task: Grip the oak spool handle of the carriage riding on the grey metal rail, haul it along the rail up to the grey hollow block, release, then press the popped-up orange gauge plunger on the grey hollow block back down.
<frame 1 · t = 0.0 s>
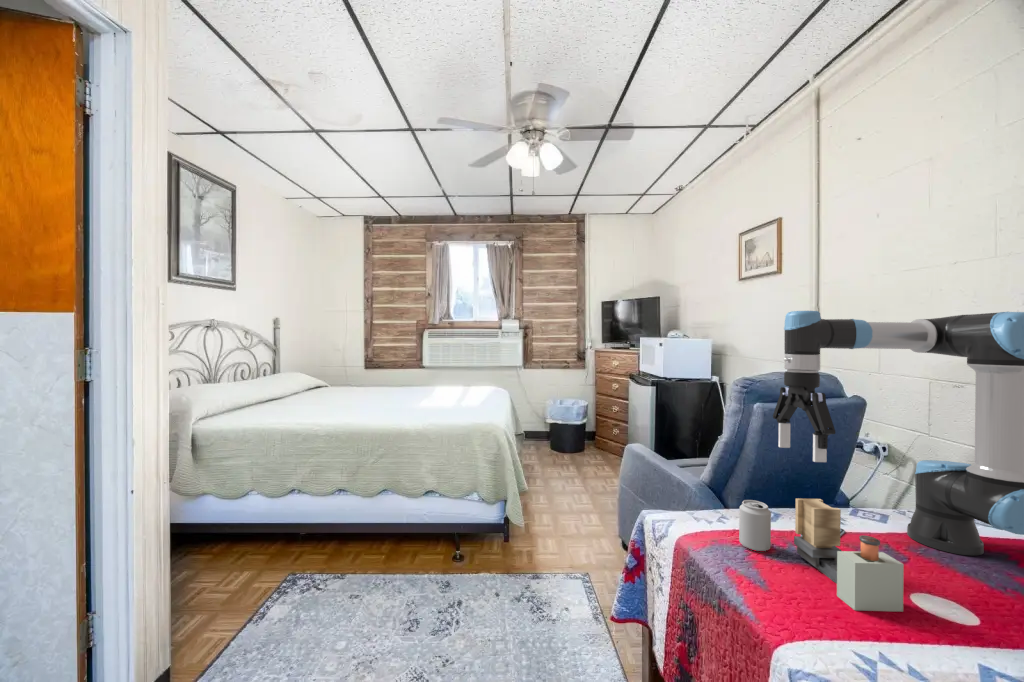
hand: (800, 454, 106), 28 cm above the table, fingers open, 13 cm apart
smartphone: (822, 535, 123), on the table
gauge plunger: (869, 548, 90), point 12 cm above the table, slide at 0.0 cm
carriage: (817, 532, 106), point 8 cm above the table, slide at -5.0 cm
rail: (831, 575, 101), on the table
can: (754, 547, 115), on the table
grey hollow block: (869, 603, 90), on the table
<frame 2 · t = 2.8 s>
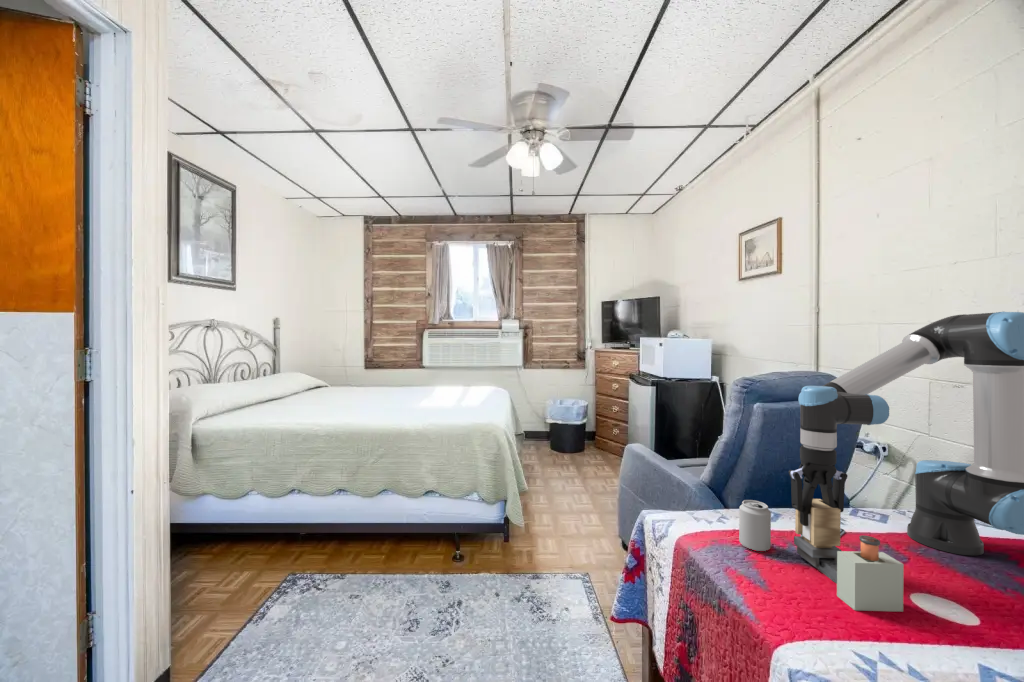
hand: (817, 538, 106), 7 cm above the table, fingers closed on carriage, 4 cm apart
carriage: (817, 532, 106), point 8 cm above the table, slide at -5.0 cm, touching gripper
everything else where it was.
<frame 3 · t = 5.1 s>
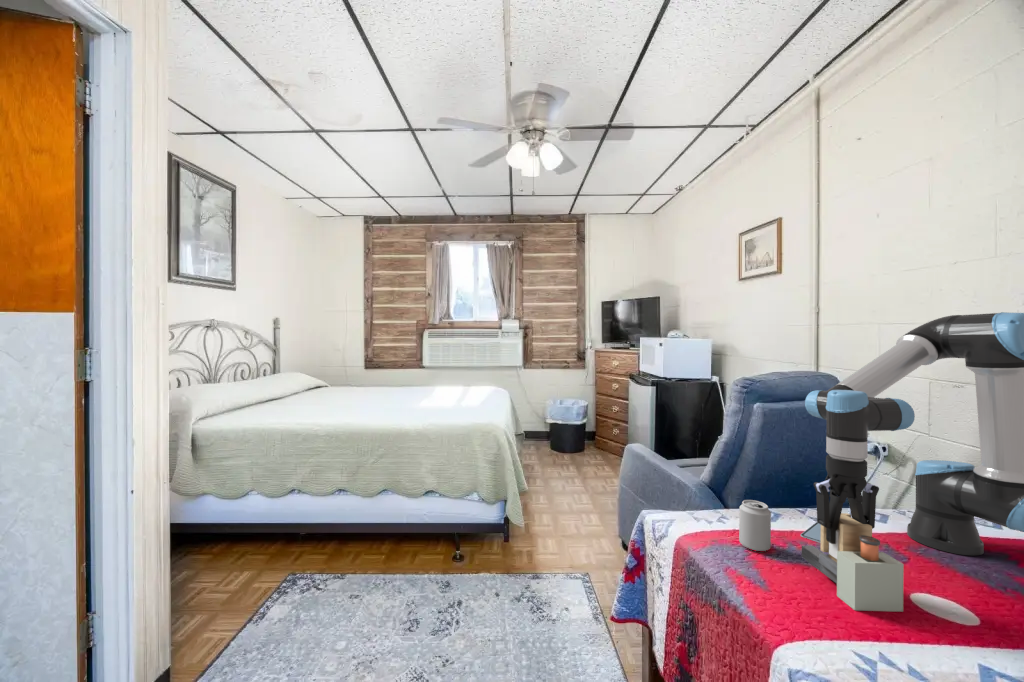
hand: (845, 556, 97), 7 cm above the table, fingers closed on carriage, 4 cm apart
carriage: (845, 550, 97), point 8 cm above the table, slide at 4.3 cm, touching gripper
everything else where it was.
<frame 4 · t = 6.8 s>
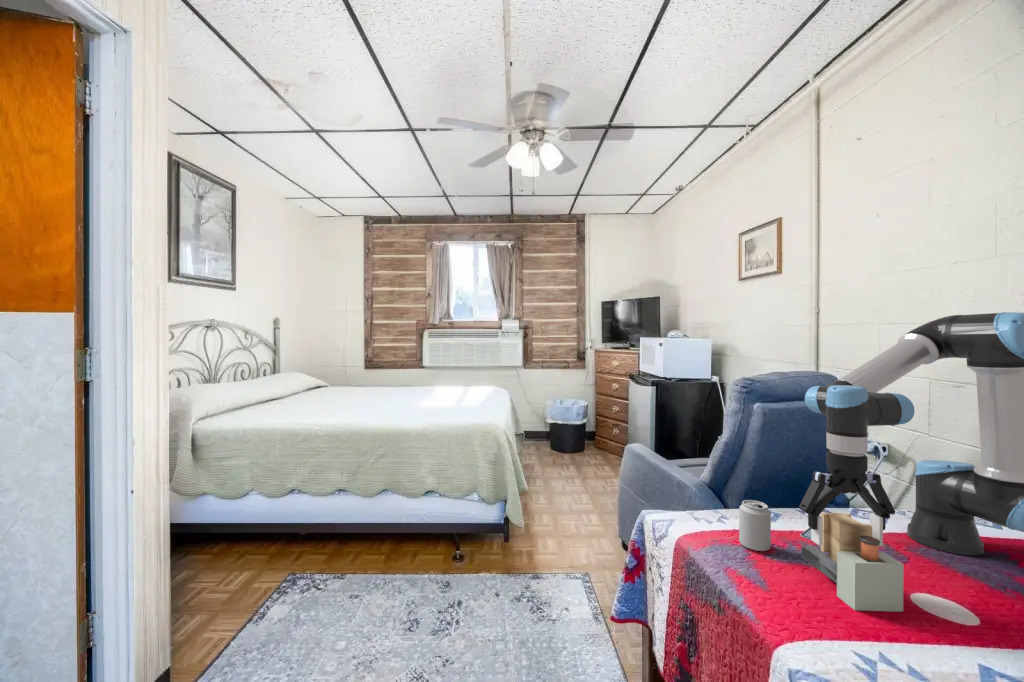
hand: (846, 543, 97), 10 cm above the table, fingers open, 13 cm apart
carriage: (845, 550, 97), point 8 cm above the table, slide at 4.3 cm
everything else where it was.
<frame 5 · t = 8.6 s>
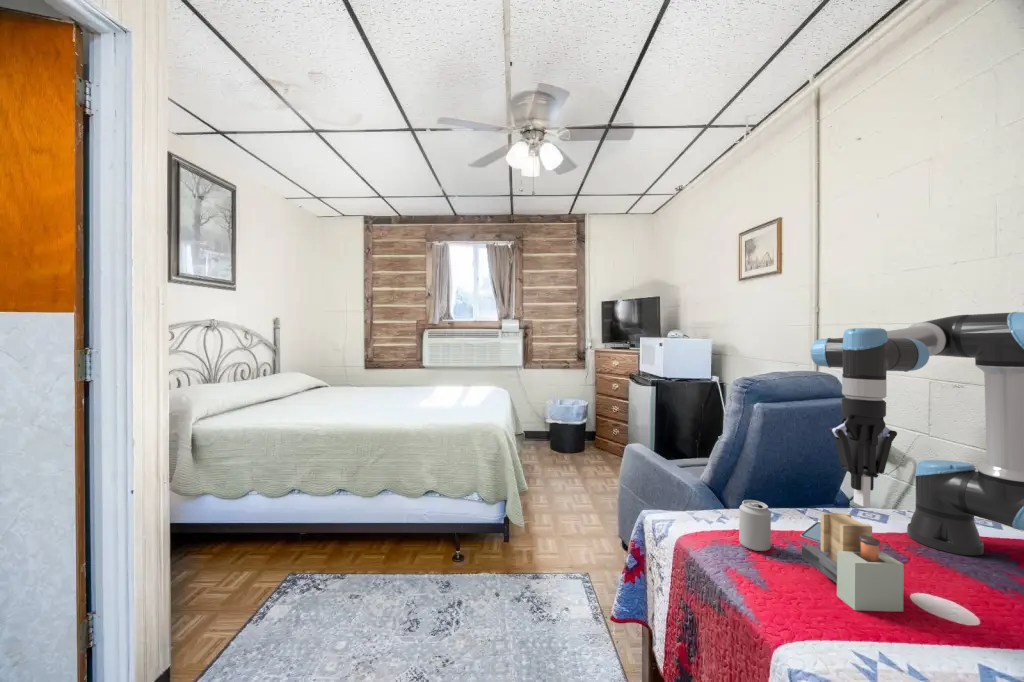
hand: (861, 504, 92), 21 cm above the table, fingers closed
nothing on the table moved.
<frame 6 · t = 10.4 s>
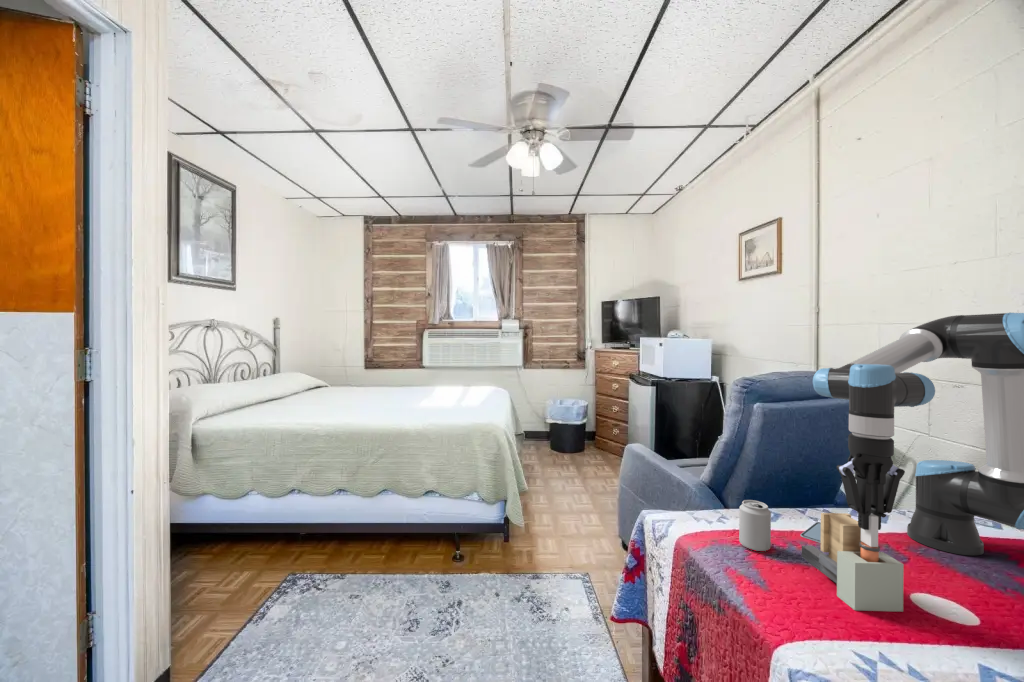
hand: (869, 543, 90), 13 cm above the table, fingers closed
gauge plunger: (869, 554, 90), point 11 cm above the table, slide at 1.3 cm, touching gripper
everything else where it was.
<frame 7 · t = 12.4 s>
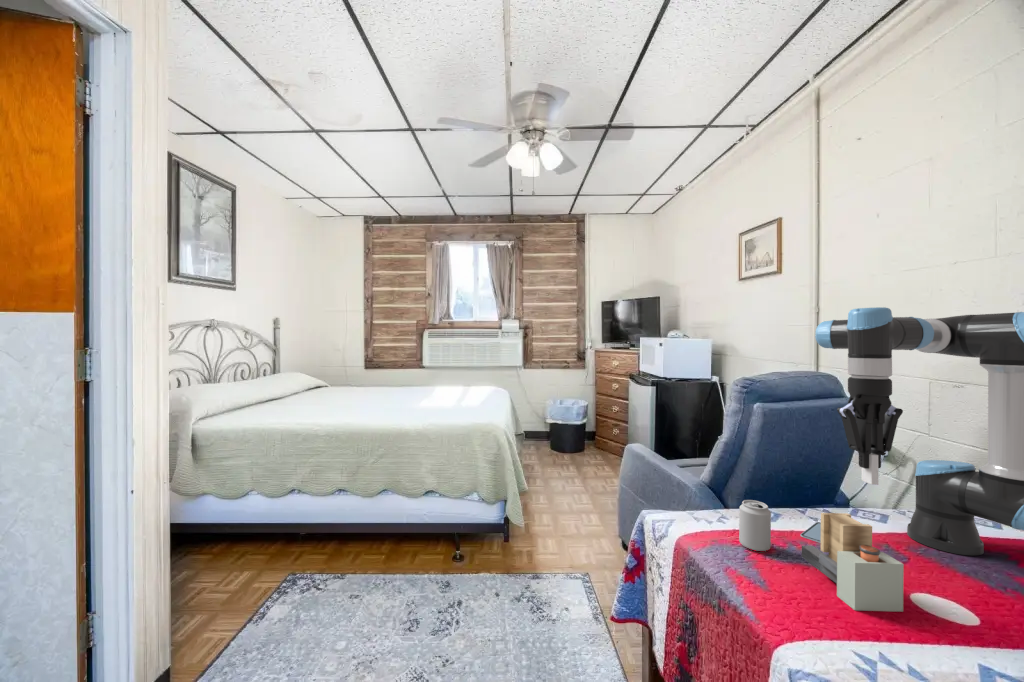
hand: (869, 482, 93), 25 cm above the table, fingers closed
gauge plunger: (869, 557, 90), point 10 cm above the table, slide at 2.1 cm
everything else where it was.
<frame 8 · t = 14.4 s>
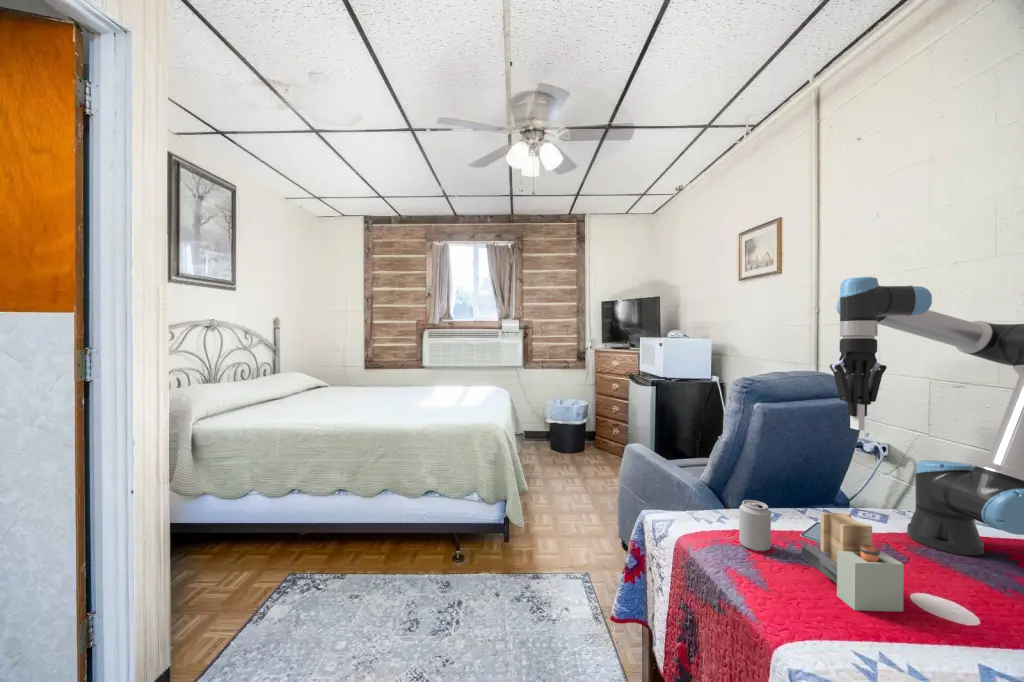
hand: (857, 428, 107), 34 cm above the table, fingers closed
nothing on the table moved.
at the end: carriage slide at 4.3 cm; gauge plunger slide at 2.1 cm; the gripper is holding nothing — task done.
